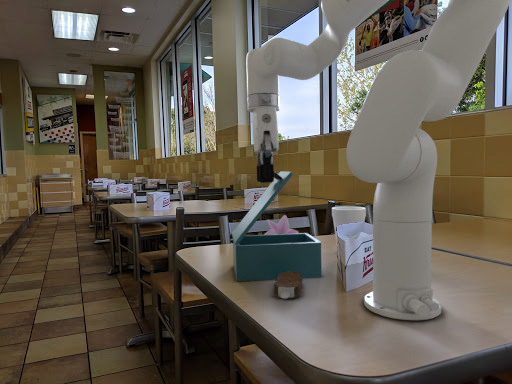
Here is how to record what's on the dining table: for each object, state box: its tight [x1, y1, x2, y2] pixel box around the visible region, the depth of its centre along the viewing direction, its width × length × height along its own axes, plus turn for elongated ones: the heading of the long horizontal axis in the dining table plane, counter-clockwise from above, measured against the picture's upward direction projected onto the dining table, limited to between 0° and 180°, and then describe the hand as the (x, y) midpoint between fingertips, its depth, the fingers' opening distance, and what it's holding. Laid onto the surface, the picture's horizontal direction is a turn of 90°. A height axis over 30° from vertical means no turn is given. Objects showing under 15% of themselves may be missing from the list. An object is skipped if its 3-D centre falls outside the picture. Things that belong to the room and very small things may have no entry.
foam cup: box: [331, 205, 367, 245], centre depth 108 cm, size 10×9×13 cm
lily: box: [263, 214, 300, 235], centre depth 116 cm, size 12×12×10 cm
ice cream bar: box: [273, 271, 303, 300], centre depth 75 cm, size 5×15×3 cm, turn 169°
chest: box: [232, 232, 323, 282], centre depth 91 cm, size 19×13×8 cm, turn 97°
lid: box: [231, 170, 294, 245], centre depth 89 cm, size 20×13×6 cm
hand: (265, 181), depth 89 cm, fingers closed on lid, 5 cm apart
